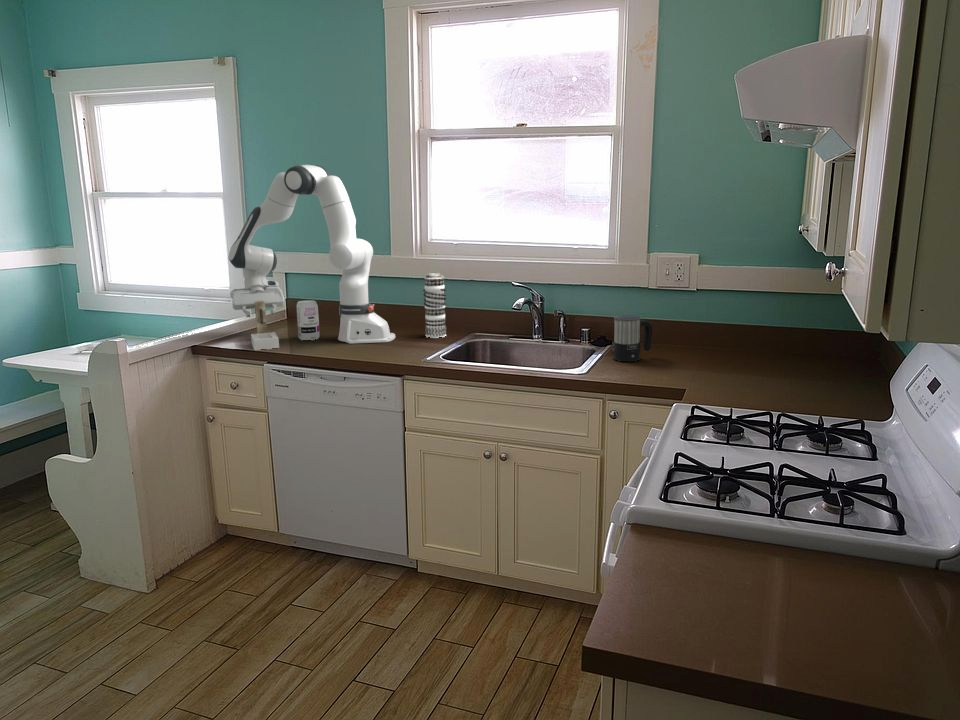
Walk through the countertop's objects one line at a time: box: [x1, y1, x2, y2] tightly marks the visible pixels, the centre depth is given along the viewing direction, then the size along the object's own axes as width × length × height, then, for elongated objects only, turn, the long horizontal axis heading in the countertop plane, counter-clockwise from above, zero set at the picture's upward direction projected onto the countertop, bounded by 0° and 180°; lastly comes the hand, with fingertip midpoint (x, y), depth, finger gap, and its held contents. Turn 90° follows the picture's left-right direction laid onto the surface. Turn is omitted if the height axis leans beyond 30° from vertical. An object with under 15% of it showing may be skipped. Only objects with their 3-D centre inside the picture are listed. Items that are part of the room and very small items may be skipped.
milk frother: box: [611, 314, 653, 362], centre depth 261 cm, size 14×16×15 cm
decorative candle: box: [422, 272, 447, 339], centre depth 300 cm, size 9×9×25 cm
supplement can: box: [295, 299, 321, 341], centre depth 298 cm, size 8×8×15 cm
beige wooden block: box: [254, 301, 268, 334], centre depth 300 cm, size 4×5×15 cm
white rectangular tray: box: [250, 331, 280, 351], centre depth 287 cm, size 12×9×4 cm
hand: (260, 315), depth 300 cm, fingers open, 8 cm apart
